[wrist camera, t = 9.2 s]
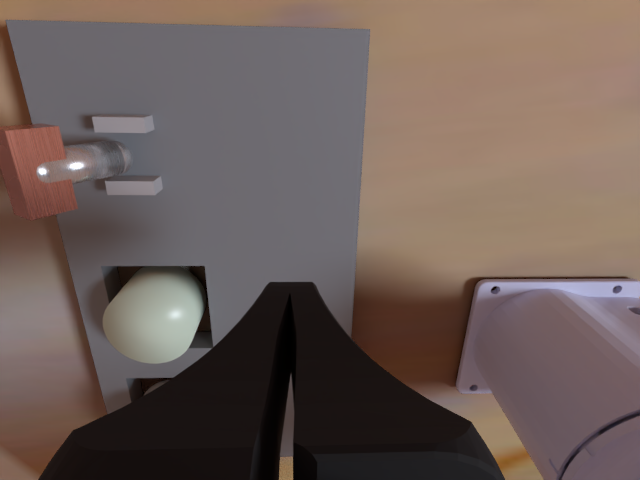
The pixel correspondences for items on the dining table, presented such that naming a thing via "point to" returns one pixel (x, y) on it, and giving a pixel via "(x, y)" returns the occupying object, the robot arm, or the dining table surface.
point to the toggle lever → (53, 167)
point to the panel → (205, 165)
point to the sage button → (155, 314)
